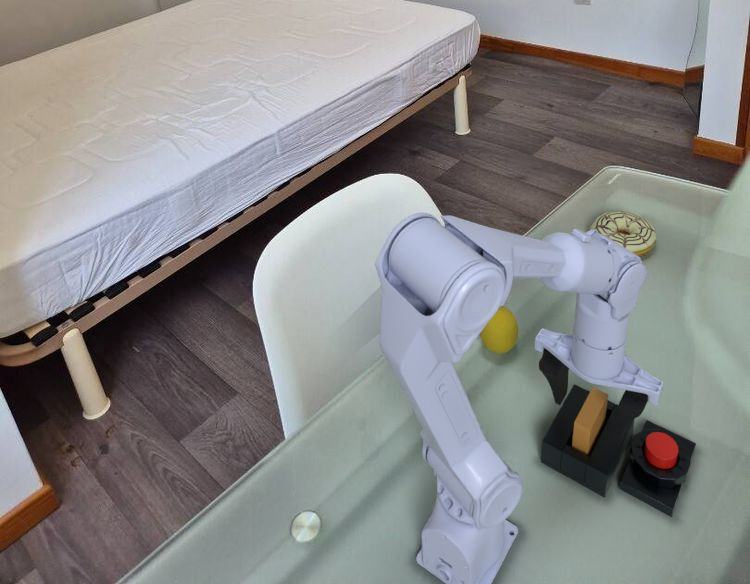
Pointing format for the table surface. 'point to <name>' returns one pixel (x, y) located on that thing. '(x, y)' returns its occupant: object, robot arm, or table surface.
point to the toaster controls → (656, 472)
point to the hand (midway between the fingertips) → (590, 413)
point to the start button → (661, 450)
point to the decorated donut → (627, 231)
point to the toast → (590, 422)
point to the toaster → (576, 464)
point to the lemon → (500, 331)
